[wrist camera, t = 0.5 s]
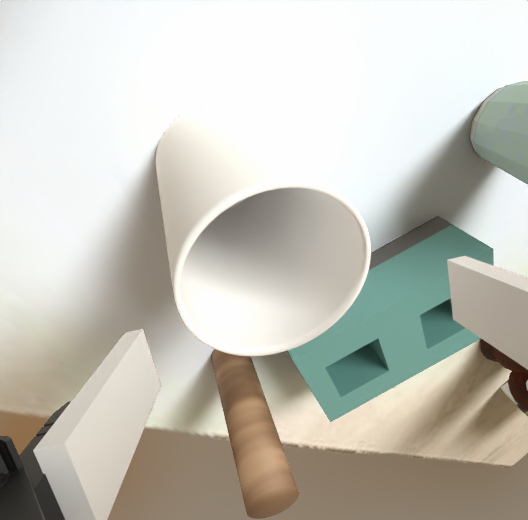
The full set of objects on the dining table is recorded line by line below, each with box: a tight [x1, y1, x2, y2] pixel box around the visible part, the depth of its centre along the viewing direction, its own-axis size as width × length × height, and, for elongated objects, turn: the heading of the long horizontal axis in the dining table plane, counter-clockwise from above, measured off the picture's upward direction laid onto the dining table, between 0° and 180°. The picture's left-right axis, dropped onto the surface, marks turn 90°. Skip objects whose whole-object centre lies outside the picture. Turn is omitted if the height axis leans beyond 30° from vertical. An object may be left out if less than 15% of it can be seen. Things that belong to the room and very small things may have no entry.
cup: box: [156, 107, 371, 356], centre depth 21 cm, size 8×8×16 cm
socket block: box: [288, 217, 493, 422], centre depth 37 cm, size 12×20×7 cm, turn 114°
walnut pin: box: [211, 349, 299, 518], centre depth 32 cm, size 4×4×15 cm
